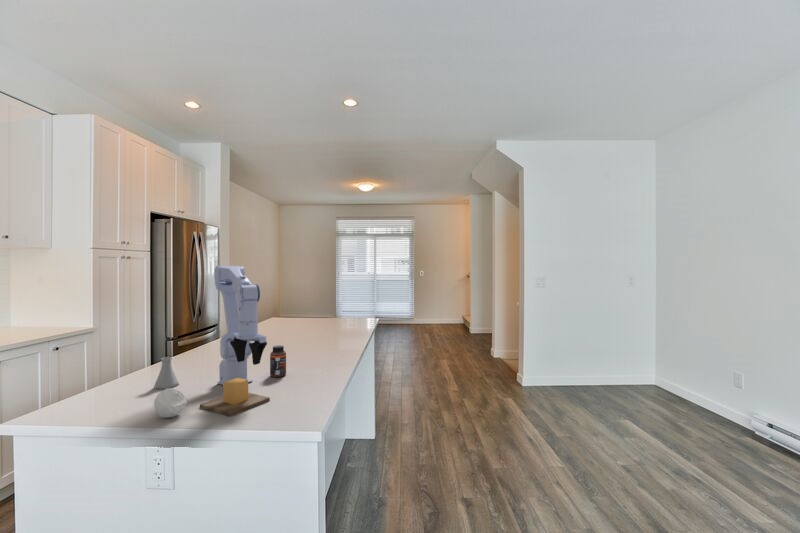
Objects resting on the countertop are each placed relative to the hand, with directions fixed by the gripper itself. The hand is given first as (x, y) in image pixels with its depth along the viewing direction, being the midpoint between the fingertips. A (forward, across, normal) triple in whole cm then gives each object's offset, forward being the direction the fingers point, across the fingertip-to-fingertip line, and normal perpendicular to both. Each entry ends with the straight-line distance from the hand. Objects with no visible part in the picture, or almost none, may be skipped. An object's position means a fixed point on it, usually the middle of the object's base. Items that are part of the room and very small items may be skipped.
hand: (248, 362), depth 123 cm
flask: (+10, -33, -8) cm, 36 cm away
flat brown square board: (+10, +4, -8) cm, 14 cm away
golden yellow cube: (+9, +4, -8) cm, 13 cm away
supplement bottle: (+10, -8, +20) cm, 24 cm away
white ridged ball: (+11, -4, -23) cm, 26 cm away
